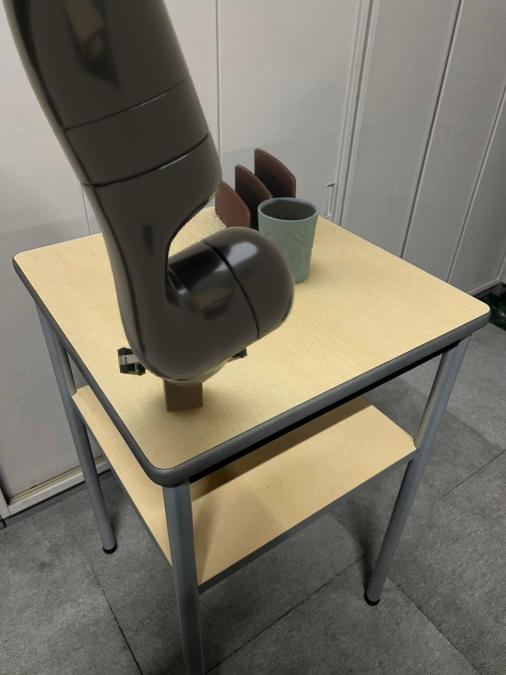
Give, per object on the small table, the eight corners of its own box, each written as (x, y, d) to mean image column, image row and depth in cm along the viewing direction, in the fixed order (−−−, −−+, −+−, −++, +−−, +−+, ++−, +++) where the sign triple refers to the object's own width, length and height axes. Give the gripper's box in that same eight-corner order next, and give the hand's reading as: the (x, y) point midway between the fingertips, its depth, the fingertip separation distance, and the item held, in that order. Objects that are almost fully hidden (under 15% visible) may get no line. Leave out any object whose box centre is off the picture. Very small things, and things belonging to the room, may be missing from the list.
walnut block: (167, 412, 62) (162, 361, 58) (163, 388, 66) (158, 338, 61) (203, 406, 63) (201, 355, 59) (197, 383, 67) (195, 333, 62)
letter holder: (256, 206, 116) (258, 142, 107) (294, 244, 101) (300, 173, 92) (214, 212, 112) (212, 146, 104) (247, 252, 98) (248, 179, 89)
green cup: (273, 291, 87) (277, 225, 79) (245, 265, 94) (246, 202, 87) (323, 278, 91) (331, 213, 83) (293, 254, 98) (297, 192, 91)
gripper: (258, 294, 49) (231, 326, 66) (103, 311, 46) (116, 340, 63) (270, 372, 48) (239, 384, 65) (113, 394, 45) (123, 401, 62)
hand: (178, 362), depth 64 cm, fingers closed on walnut block, 4 cm apart
